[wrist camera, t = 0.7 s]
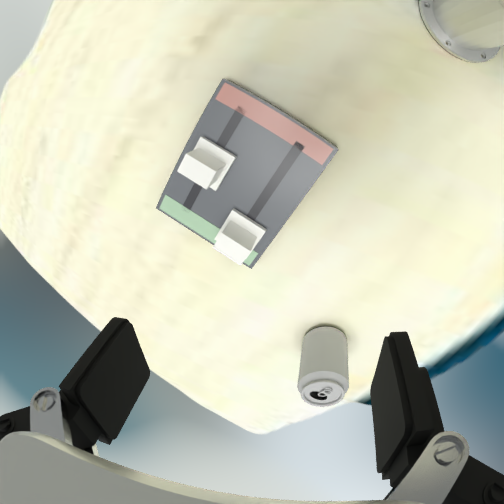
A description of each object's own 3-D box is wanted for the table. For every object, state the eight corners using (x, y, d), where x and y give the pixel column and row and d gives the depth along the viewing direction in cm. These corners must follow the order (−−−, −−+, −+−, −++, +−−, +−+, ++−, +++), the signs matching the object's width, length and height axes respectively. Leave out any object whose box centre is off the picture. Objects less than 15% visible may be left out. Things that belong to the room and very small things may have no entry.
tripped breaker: (202, 136, 35) (187, 141, 31) (236, 156, 36) (225, 164, 31) (185, 169, 38) (168, 178, 33) (217, 189, 38) (204, 201, 34)
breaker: (233, 208, 39) (223, 222, 35) (266, 229, 39) (260, 245, 35) (216, 236, 41) (204, 253, 37) (247, 256, 42) (239, 275, 38)
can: (294, 342, 50) (285, 398, 40) (321, 315, 47) (318, 373, 36) (328, 360, 51) (325, 415, 41) (356, 335, 47) (360, 392, 37)
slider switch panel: (227, 79, 33) (222, 78, 32) (337, 147, 35) (338, 149, 33) (162, 203, 43) (155, 208, 41) (254, 261, 45) (251, 269, 43)
